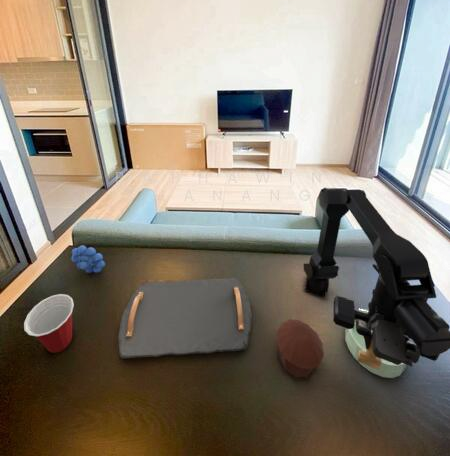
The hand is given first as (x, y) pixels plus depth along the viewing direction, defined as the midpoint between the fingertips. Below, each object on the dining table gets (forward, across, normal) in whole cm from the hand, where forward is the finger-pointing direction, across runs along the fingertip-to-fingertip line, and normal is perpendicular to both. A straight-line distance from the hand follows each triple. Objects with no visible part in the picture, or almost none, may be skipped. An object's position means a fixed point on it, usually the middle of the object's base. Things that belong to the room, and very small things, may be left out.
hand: (372, 349), depth 56 cm
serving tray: (+12, -47, -4) cm, 49 cm away
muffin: (+12, -15, -2) cm, 20 cm away
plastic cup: (+12, -76, -24) cm, 81 cm away
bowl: (+12, +4, +10) cm, 16 cm away
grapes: (+12, -89, -4) cm, 90 cm away
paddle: (+5, 0, 0) cm, 5 cm away
